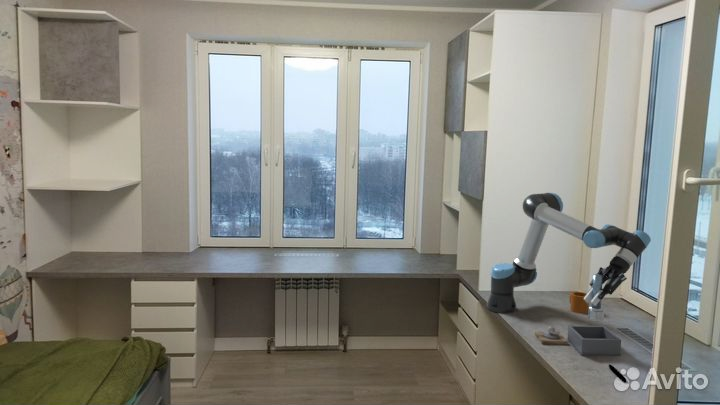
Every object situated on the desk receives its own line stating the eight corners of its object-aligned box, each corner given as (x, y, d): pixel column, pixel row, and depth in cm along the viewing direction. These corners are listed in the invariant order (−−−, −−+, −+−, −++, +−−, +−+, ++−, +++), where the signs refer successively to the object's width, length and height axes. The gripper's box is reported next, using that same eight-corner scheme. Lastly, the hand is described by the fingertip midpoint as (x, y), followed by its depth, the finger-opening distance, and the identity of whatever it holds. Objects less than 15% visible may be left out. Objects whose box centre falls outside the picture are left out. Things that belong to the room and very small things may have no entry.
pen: (610, 367, 206) (610, 363, 206) (627, 383, 193) (628, 379, 192) (606, 367, 206) (606, 363, 206) (623, 383, 193) (623, 379, 192)
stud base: (534, 334, 239) (535, 321, 239) (558, 335, 239) (559, 322, 238) (542, 344, 229) (542, 330, 228) (567, 344, 228) (568, 331, 227)
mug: (580, 305, 281) (581, 289, 280) (591, 313, 269) (592, 296, 268) (564, 305, 280) (565, 289, 279) (574, 313, 269) (576, 296, 267)
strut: (586, 316, 225) (588, 273, 223) (599, 316, 225) (602, 273, 223) (591, 321, 220) (594, 277, 217) (605, 321, 219) (608, 277, 217)
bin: (567, 340, 233) (568, 325, 232) (603, 341, 232) (604, 326, 231) (581, 355, 217) (582, 339, 216) (620, 356, 216) (621, 339, 215)
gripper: (643, 271, 217) (608, 314, 214) (612, 262, 232) (580, 302, 229) (633, 259, 214) (599, 302, 211) (603, 251, 230) (570, 291, 227)
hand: (589, 302), depth 220 cm, fingers closed on strut, 3 cm apart
